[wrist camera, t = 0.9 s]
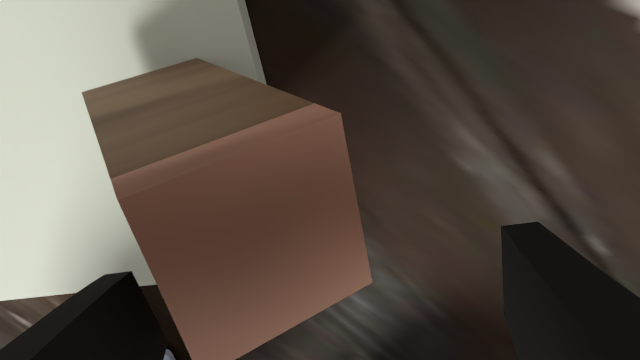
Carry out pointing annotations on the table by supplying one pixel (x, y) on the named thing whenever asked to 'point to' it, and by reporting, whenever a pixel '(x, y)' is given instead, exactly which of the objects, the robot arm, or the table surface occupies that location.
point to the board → (86, 126)
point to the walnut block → (232, 201)
